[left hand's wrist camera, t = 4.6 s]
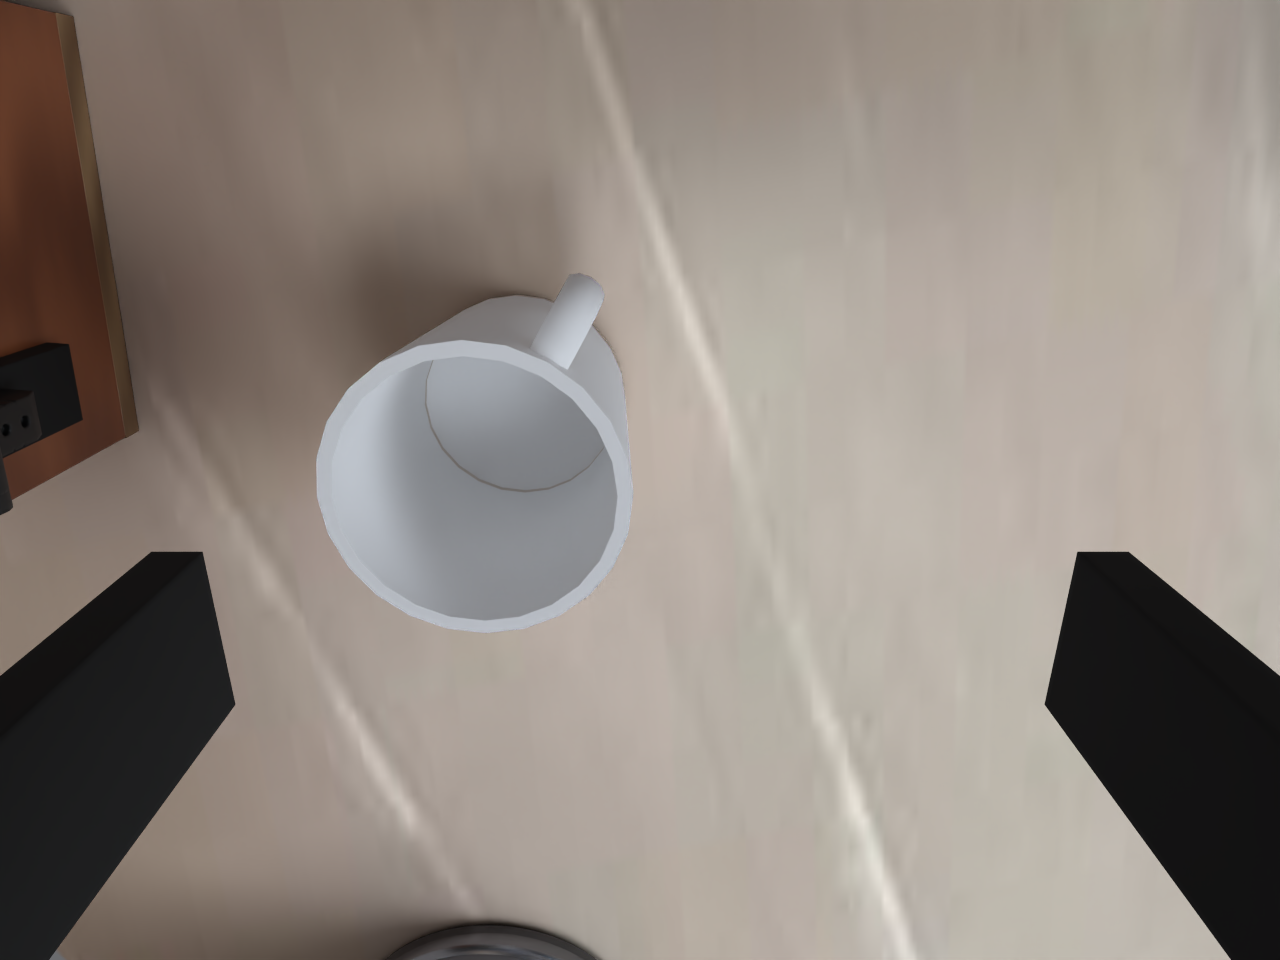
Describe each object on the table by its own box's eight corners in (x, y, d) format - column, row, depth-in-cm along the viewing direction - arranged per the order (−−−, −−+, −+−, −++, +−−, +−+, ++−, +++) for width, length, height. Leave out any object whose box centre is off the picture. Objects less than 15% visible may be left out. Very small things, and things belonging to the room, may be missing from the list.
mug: (570, 534, 35) (542, 678, 26) (375, 435, 34) (268, 549, 24) (706, 308, 32) (732, 377, 22) (495, 185, 30) (425, 202, 21)
